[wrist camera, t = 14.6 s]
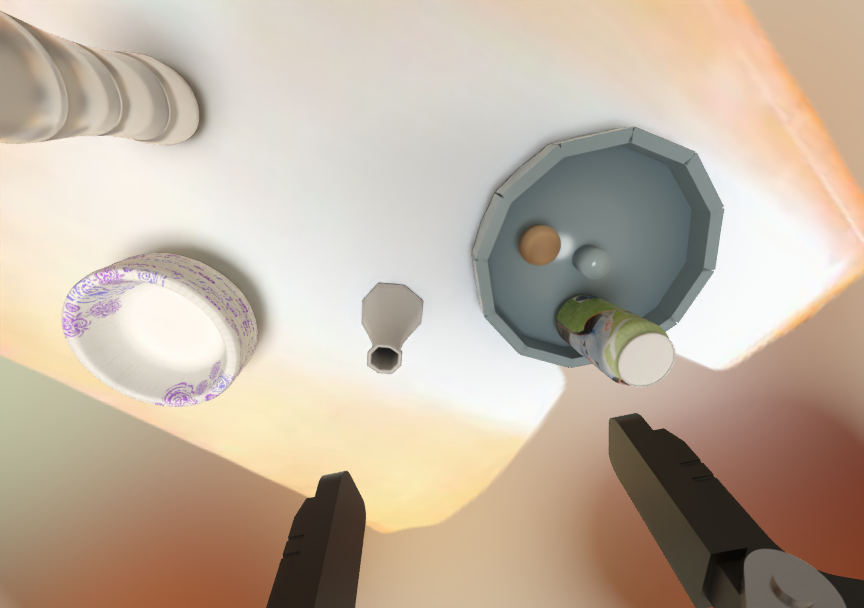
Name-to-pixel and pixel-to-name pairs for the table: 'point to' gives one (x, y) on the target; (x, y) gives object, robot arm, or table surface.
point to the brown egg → (539, 245)
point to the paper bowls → (161, 328)
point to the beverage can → (616, 340)
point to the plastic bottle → (87, 91)
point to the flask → (389, 324)
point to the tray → (598, 236)
